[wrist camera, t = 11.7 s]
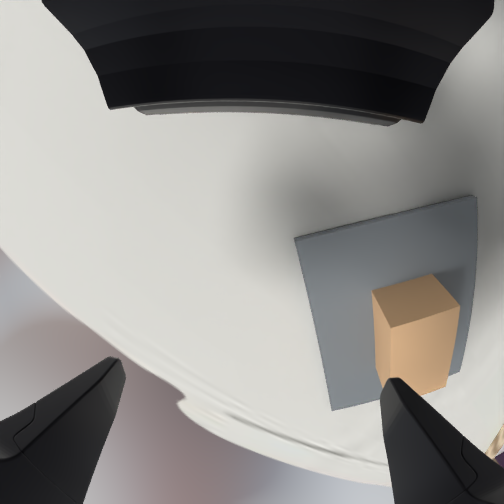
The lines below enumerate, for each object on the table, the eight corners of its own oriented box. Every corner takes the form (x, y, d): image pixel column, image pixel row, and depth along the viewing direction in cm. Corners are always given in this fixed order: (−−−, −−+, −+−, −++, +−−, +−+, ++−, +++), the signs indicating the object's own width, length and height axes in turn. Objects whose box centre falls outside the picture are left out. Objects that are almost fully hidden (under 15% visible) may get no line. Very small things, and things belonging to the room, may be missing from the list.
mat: (294, 238, 19) (294, 241, 19) (472, 195, 17) (476, 197, 17) (331, 406, 26) (331, 410, 25) (457, 367, 23) (459, 371, 23)
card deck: (375, 367, 23) (388, 405, 19) (371, 290, 20) (390, 328, 16) (426, 351, 22) (445, 386, 18) (431, 273, 19) (460, 305, 15)
